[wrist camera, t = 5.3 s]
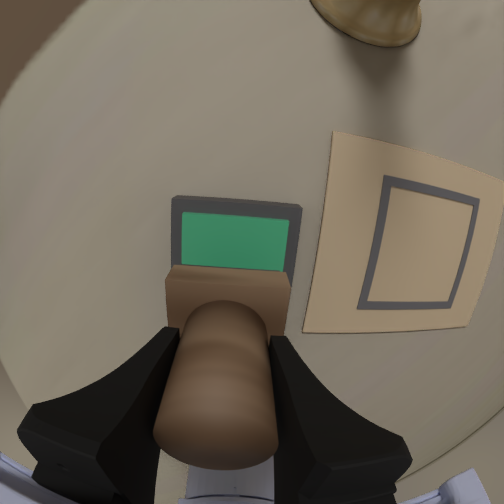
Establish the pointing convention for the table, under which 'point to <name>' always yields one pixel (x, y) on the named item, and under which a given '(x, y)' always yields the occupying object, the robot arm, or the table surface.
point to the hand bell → (374, 19)
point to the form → (400, 240)
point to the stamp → (222, 366)
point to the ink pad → (235, 233)
